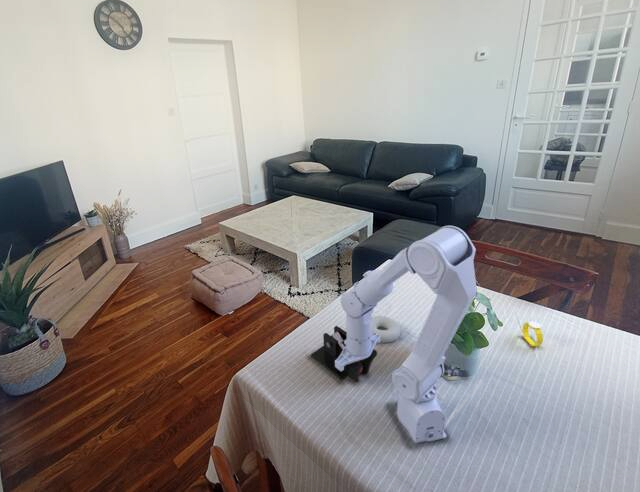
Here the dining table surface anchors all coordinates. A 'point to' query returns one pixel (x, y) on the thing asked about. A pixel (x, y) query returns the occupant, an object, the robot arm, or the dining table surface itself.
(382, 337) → the donut
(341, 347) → the lever
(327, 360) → the bracket
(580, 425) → the dining table surface
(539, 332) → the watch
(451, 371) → the blueberries
